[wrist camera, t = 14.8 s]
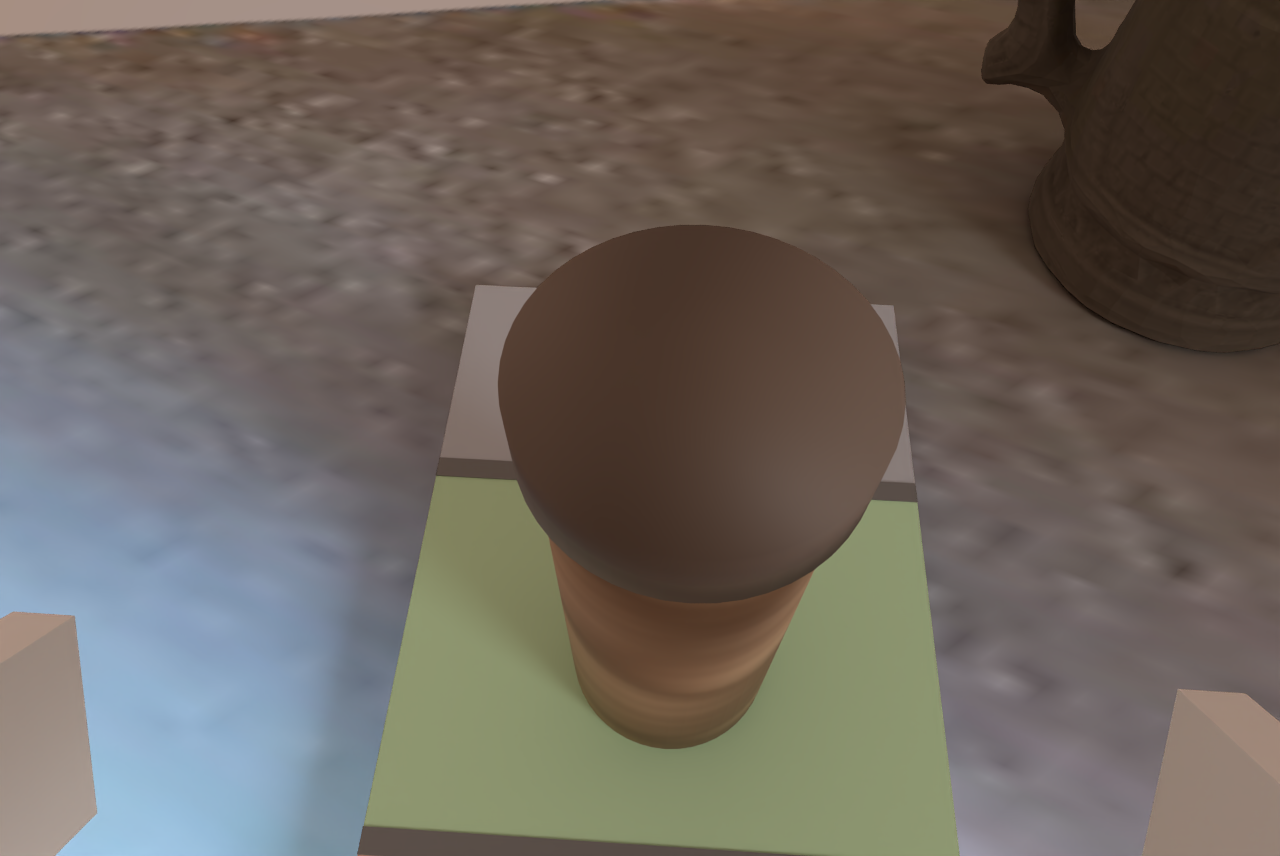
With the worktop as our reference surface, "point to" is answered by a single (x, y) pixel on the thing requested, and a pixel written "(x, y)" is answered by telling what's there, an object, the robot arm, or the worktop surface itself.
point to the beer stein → (1160, 165)
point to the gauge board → (605, 760)
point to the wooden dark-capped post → (693, 458)
